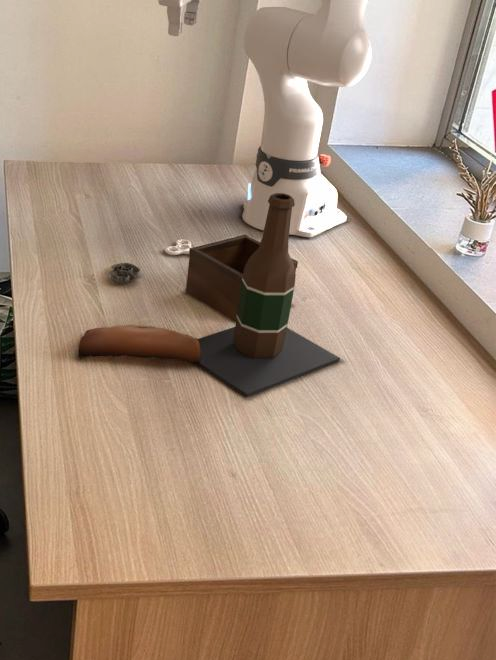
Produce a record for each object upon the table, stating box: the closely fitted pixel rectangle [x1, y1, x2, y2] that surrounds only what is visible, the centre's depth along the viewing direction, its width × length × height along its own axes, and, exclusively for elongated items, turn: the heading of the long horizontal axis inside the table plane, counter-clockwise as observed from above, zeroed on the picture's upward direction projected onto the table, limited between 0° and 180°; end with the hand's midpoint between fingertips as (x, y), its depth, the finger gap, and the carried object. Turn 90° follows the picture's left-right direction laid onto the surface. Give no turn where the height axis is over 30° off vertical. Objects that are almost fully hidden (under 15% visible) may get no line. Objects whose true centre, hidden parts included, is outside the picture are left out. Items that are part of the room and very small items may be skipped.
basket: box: [185, 234, 299, 323], centre depth 159 cm, size 13×13×8 cm
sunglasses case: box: [77, 324, 201, 364], centre depth 141 cm, size 18×7×7 cm
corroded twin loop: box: [108, 262, 141, 286], centre depth 163 cm, size 5×8×1 cm, turn 173°
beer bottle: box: [234, 193, 296, 358], centre depth 139 cm, size 8×8×24 cm
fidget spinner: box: [164, 239, 194, 256], centre depth 175 cm, size 7×6×1 cm
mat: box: [191, 326, 341, 398], centre depth 145 cm, size 20×16×1 cm
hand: (182, 29), depth 149 cm, fingers open, 8 cm apart
